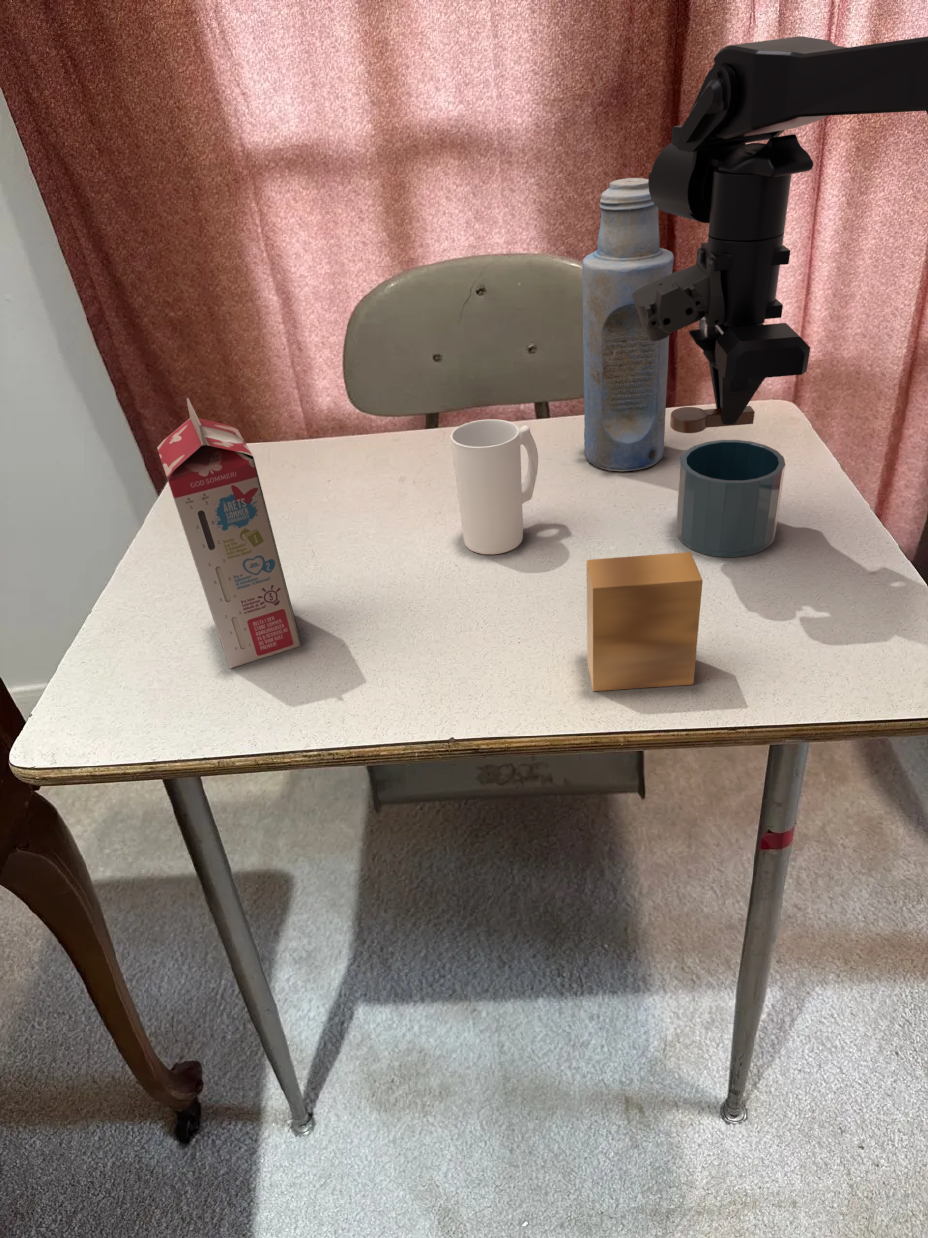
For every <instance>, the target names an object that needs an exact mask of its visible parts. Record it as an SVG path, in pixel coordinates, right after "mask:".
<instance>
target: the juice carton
mask: <svg viewBox="0 0 928 1238" xmlns="http://www.w3.org/2000/svg"><path fill="white" fill-rule="evenodd" d="M186 405H187V409H188V413H189V418H188V419H187V420H186V421H185V422H183V423H182V424H181V425H180V426H179V427H177V428H176V429H175V430H174V431H173V432H172V433H170V434H169V435H168V436H167V437H166V438H164V439H163V440H162V441H161V443H160V444H159V445H158V446H157V448H156V449H157V452H158V455H159V458H160V461H161V464H162V467H163V470H164V473H165V477H166V479H167V482H168V486H169V489H170V491H171V492H170V493H171V494H172V497H173V500H174V504H175V507H176V510H177V513H178V516H179V519H180V522H181V525H182V529H183V531H184V534H185V537H186V538H185V539H186V540H187V543H188V547H189V550H190V552H191V556H192V559H193V561H194V565H195V568H196V571H197V574H198V577H199V580H200V583H201V587H202V590H203V592H204V596H205V599H206V601H207V605H208V608H209V612H210V614H211V618H212V620H213V623H214V626H215V629H216V633H217V635H218V639H219V641H220V644H221V646H222V650H223V653H224V657H225V660H226V662H227V666H228V667H229V669H233V668H237V667H239V666H242V665H246V664H249V663H252V662H255V661H259V660H261V659H265V658H268V657H270V656H274V655H277V654H281V653H283V652H287V651H290V650H292V649H296V648H299V647H302V646H303V645H302V640H301V637H300V633H299V629H298V625H297V622H296V617H295V613H294V608H293V605H292V602H291V598H290V597H291V596H290V593H289V590H288V586H287V583H286V579H285V574H284V570H283V567H282V563H281V559H280V555H279V551H278V548H277V543H276V539H275V535H274V531H273V528H272V524H271V519H270V516H269V512H268V508H267V505H266V504H267V503H266V500H265V497H264V492H263V488H262V484H261V480H260V477H259V473H258V469H257V466H256V462H255V461H256V460H255V457H254V455H253V453H252V452H251V450H250V448H249V447H248V445H247V443H246V442H245V440H244V438H243V436H242V434H241V432H240V431H239V429H238V428H237V427H234V426H232V425H229V424H226V423H223V422H222V423H221V422H217V421H213V420H208V419H204V418H200V417H198V415H197V413H196V410H195V408H194V406H193V405H192V402H191V400H190V398H189V397H186Z"/></svg>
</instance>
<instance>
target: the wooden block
mask: <svg viewBox="0 0 928 1238" xmlns="http://www.w3.org/2000/svg"><path fill="white" fill-rule="evenodd" d="M702 593H703V577H702V575H701V573H700V570H699V568H698V566H697V564H696V561H695V559H694V557H693V554H692V551H685V552H674V553H673V552H672V553H659V554H658V553H657V554H646V555H634V556H633V555H632V556H621V557H619V556H618V557H607V558H605V557H604V558H594V559H593V558H592V559H586V654H587V655H586V661H587V666H588V673H589V677H590V683H591V688H592V692H602V691H617V690H631V689H647V688H662V687H676V686H677V687H679V686H691V685H694V681H695V671H696V661H697V660H696V658H697V649H698V648H697V647H698V637H699V625H700V614H701V603H702Z"/></svg>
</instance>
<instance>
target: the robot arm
mask: <svg viewBox="0 0 928 1238" xmlns="http://www.w3.org/2000/svg"><path fill="white" fill-rule="evenodd" d="M713 62H714V63H713V66H712V68H711V69H710V70H708V73H707V74H706V76H705V78H704V80H703V82H702V85H701V86H700V89H699V91H698V94H697V96H696V98H695V100H694V103H693V105H692V107H691V108H690V112H689V113H688V116H687V118H686V119H685V121H684V122H683V124H680V125H673V126H672V128H671V141H670V143H668V144H667V145H666V146H665V147H664V148H663V149H662V150H661V151H660V153H659V154H658V155H657V156H656V159H655V160H654V163H653V164H652V168H651V171H650V173H649V174H648V179H649V181H648V185H649V193H650V196H651V199H652V201H653V202H654V204H655V205H656V206H657V207H658V210H660V211H662V212H664V213H666V214H670V215H675V216H677V217H681V218H685V219H688V220H692V221H695V222H698V223H702V224H708V231H707V233H708V234H707V242H701V243H700V247H699V248H697V249H696V258H695V264H694V265H691V266H689V267H686V268H684V269H680V270H676V271H674V272H672V274H670V275H668V276H665V277H663V278H661V279H659V280H657V281H655V282H652V283H650V284H648V285H646V286H644V287H642V288H640V289H638V290H636V291H635V292H634V293H633V294H632V297H633V300H634V303H635V306H636V309H637V312H638V315H639V318H640V321H641V324H642V327H643V330H644V331H645V332H646V334H647V336H648V338H649V340H650V341H659V340H662V339H664V338H666V337H668V336H669V337H670V334H672V333H674V332H677V331H678V330H681V329H683V328H686V327H688V326H691V325H692V324H694V323H697V322H698V328H695V329H691V330H690V331H688V333H689V335H690V337H691V339H693V342H694V343H695V344H696V345H697V346H698V347H699V348H700V349H701V350H702V355H704V357H705V358H706V360H707V361H708V368H709V371H710V378H711V384H712V390H713V396H714V402H715V409H718V408H721V415H722V422H723V424H724V425H729V424H735V423H736V422H737V420H738V419H739V417H740V415H741V414H742V412H743V411H744V409H745V408H746V406H749V403H750V401H751V400H752V398H753V397H754V395H755V394H756V392H757V391H758V390H759V388H760V386H761V385H762V384H763V382H764V381H765V379H769V378H779V377H780V378H781V377H790V376H791V377H793V376H802V375H804V374H805V373H807V371H808V366H809V359H810V353H811V347H810V345H809V344H808V343H807V342H806V341H805V340H804V339H803V338H802V337H801V336H800V335H799V334H798V333H797V332H796V331H795V330H794V329H793V328H792V327H791V326H790V325H789V324H788V323H787V322H779V323H769V324H765V321H766V320H772V319H781V318H782V315H783V309H784V305H783V303H782V302H780V300H778V299H777V291H778V283H779V275H780V268H781V266H784V265H789V264H790V256H791V249H789V248H788V247H786V246H785V245H783V244H784V239H785V229H786V228H785V227H786V221H787V213H788V204H789V197H790V190H791V181H792V175H795V174H800V173H806V172H810V171H812V170H813V167H814V161H813V159H812V157H811V155H810V154H809V152H808V151H807V150H805V148H803V147H802V145H801V144H800V142H799V139H798V136H797V135H796V134H794V133H793V134H792V133H791V134H785V135H782V134H783V132H784V131H786V130H793V129H798V128H800V127H803V126H806V125H810V124H812V123H816V122H818V121H821V120H823V119H825V118H826V117H828V116H829V117H831V116H848V115H849V116H850V115H869V114H870V115H871V114H888V113H890V114H891V113H909V112H910V113H911V112H912V113H913V112H926V115H928V36H921V37H914V38H907V39H906V38H905V39H899V40H893V41H886V42H877V43H870V44H864V45H856V46H851V47H849V46H848V47H847V46H840V45H836V44H834V42H832V41H831V40H828V39H823V38H822V39H821V38H815V37H809V36H802V35H801V36H799V35H798V36H790V37H783V38H776V39H768V40H761V41H753V42H744V43H738V44H729V45H726V46H724V47H722V48H720V50H718V52H717V53H716V54H715V55H714V58H713ZM762 141H767V142H766V143H763V142H762Z"/></svg>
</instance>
